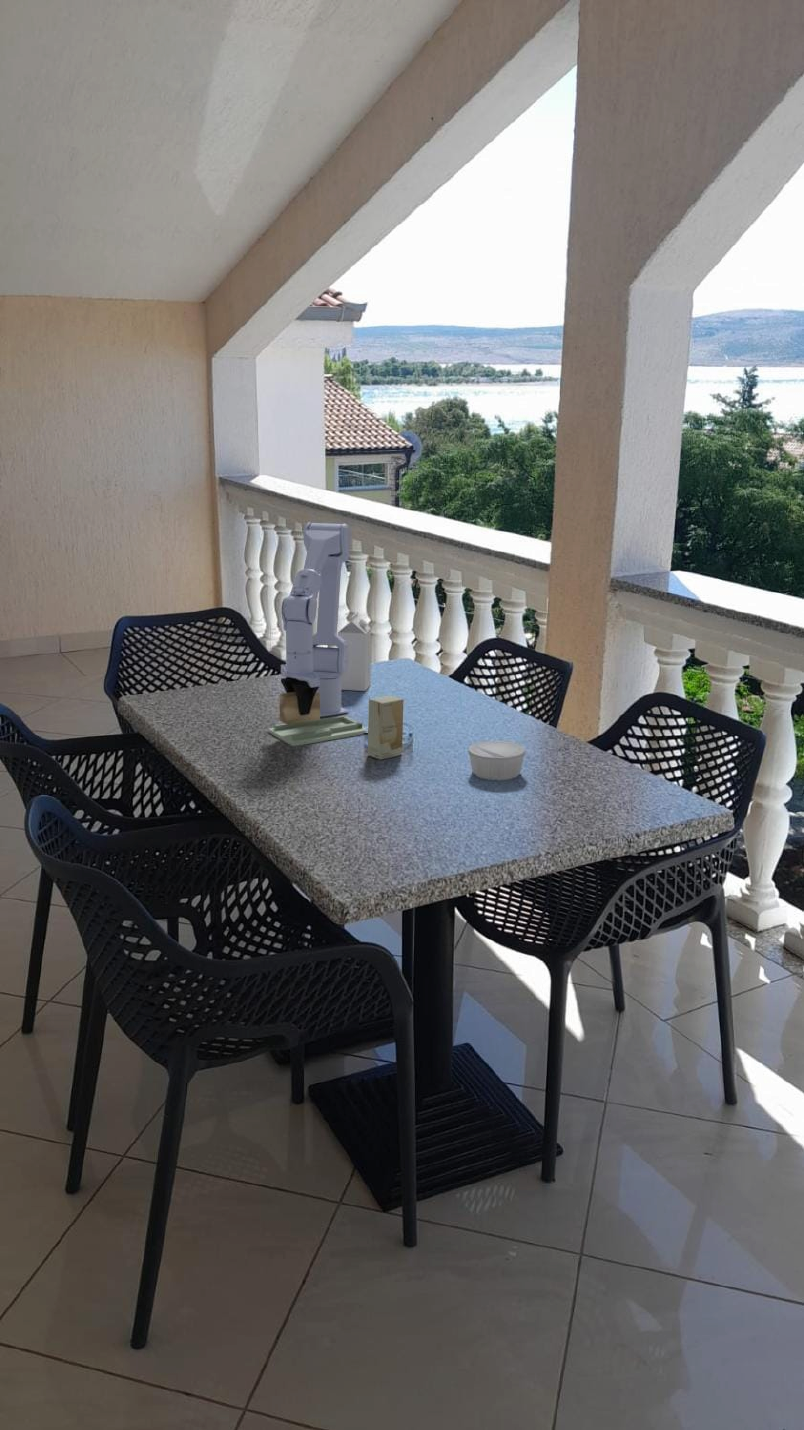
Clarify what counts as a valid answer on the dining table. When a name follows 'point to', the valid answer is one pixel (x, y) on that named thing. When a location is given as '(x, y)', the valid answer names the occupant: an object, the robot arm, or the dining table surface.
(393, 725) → the skincare box
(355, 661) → the milk carton
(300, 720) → the panel block
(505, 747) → the ramekin
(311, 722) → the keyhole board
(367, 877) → the dining table surface
